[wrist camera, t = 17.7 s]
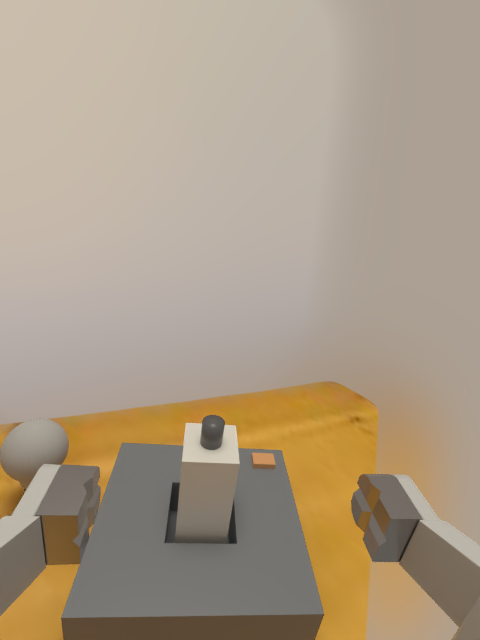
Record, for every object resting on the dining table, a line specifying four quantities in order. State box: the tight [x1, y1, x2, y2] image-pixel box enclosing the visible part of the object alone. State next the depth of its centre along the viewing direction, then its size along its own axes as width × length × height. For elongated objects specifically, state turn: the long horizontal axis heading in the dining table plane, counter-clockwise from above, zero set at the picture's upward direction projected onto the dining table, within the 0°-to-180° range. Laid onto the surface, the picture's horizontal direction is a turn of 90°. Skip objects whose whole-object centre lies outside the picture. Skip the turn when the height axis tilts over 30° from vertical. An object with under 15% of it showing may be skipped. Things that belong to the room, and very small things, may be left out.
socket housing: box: [61, 443, 324, 640], centre depth 31 cm, size 18×16×7 cm
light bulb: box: [0, 419, 69, 491], centre depth 34 cm, size 6×6×10 cm
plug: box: [175, 415, 240, 544], centre depth 29 cm, size 4×4×14 cm
